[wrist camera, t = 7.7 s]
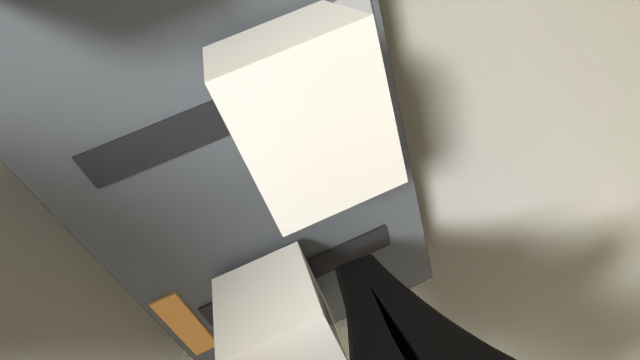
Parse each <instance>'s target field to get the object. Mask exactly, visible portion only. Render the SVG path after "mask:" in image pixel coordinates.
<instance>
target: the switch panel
mask: <svg viewBox="0 0 640 360" xmlns="http://www.w3.org/2000/svg"><path fill="white" fill-rule="evenodd" d="M318 1H321V0H0V161H1V162H2V163H3V164H4V165H5V166H6V167H7V168H8V169H9V170H10V171H11V172H12V173H13V174H14V175H15V176H16V177H17V178H18V179H19V180H20V181H21V182H22V183H23V184H24V185H25V186H26V187H27V188H28V189H29V191H30V192H31V193H32V194H33V195H34V196H35V197H36V198H37V199H38V200H39V201H40V202H41V203H42V204H43V205H44V206H45V207H46V208H47V209H48V210H49V211H50V212H51V213H52V214H53V215H54V216H55V217H56V218H57V219H58V220H59V221H60V222H61V223H62V224H63V226H64V227H65V228H66V229H67V230H68V231H69V232H70V233H71V234H72V235H73V236H74V237H75V238H76V239H77V240H78V241H79V242H80V243H81V244H82V245H83V246H84V247H85V248H86V249H87V250H88V251H89V252H90V253H91V254H92V255H93V256H94V257H95V258H96V259H97V261H98V262H99V263H100V264H101V265H102V266H103V267H104V268H105V269H106V270H107V271H108V272H109V273H110V274H111V275H112V276H113V277H114V278H115V279H116V280H117V281H118V282H119V283H120V284H121V285H122V286H123V287H124V288H125V289H126V290H127V291H128V292H129V293H130V295H131V296H132V297H133V298H134V299H135V300H136V301H137V302H138V303H139V304H140V305H141V306H142V307H143V308H144V309H145V310H146V311H147V312H148V313H149V314H150V315H151V316H152V317H153V318H154V319H155V320H156V321H157V322H158V323H159V324H160V325H161V326H162V327H163V328H164V330H165V331H166V332H167V333H168V334H169V335H170V336H171V337H172V338H173V339H174V340H175V341H176V342H177V343H178V344H179V345H180V346H181V347H182V348H183V349H184V350H185V351H186V352H187V353H188V354H189V355H190V356H191V357H192V358H193V359H194V360H215V348H214V324H213V301H212V279H214V278H216V277H218V276H221V275H223V274H225V273H227V272H230V271H232V270H234V269H236V268H238V267H241V266H243V265H245V264H247V263H250V262H252V261H254V260H256V259H259V258H261V257H263V256H265V255H268V254H270V253H272V252H274V251H277V250H279V249H281V248H283V247H286V246H288V245H290V244H292V243H295V242H298V244H299V246H300V248H301V250H302V252H303V254H304V256H305V258H306V261H307V263H308V265H309V267H310V269H311V271H312V273H313V275H314V277H315V279H316V281H317V283H318V285H319V287H320V290H321V292H322V294H323V296H324V298H325V300H326V302H327V304H328V306H329V309H330V312H331V314H332V317H333V319H334V322H335V323H336V322H338V321H340V320H342V319H344V318H346V310H345V305H344V302H343V298H342V294H341V291H340V287H339V283H338V279H337V276H336V272H335V269H336V267H337V266H338V265H341V264H344V263H346V262H349V261H352V260H354V259H357V258H360V257H362V256H365V255H368V254H371V255H373V256H374V257H375V258H376V259H377V260H378V261H379V262H380V263H381V264H382V265H383V266H384V267H385V268H386V269H387V270H388V271H389V272H390V273H391V274H392V275H393V276H395V277H396V278H397V279H398V280H399V281H400V282H401V283H402V284H404V285H405V286H406V287H407V288H411V287H413V286H415V285H417V284H419V283H421V282H423V281H426V280H428V279H430V278H432V272H431V267H430V262H429V257H428V252H427V246H426V241H425V236H424V231H423V226H422V221H421V216H420V211H419V206H418V201H417V195H416V190H415V185H414V180H413V175H412V170H411V165H410V160H409V155H408V149H407V144H406V139H405V134H404V129H403V124H402V119H401V114H400V109H399V104H398V98H397V93H396V88H395V83H394V78H393V73H392V68H391V63H390V58H389V53H388V47H387V42H386V37H385V32H384V27H383V22H382V17H381V12H380V7H379V1H378V0H325V1H328V2H332V3H335V4H339V5H342V6H346V7H349V8H353V9H356V10H360V11H363V12H367V13H370V14H373V15H374V20H375V24H376V29H377V34H378V39H379V44H380V49H381V53H382V58H383V63H384V68H385V73H386V78H387V82H388V87H389V92H390V97H391V102H392V107H393V111H394V116H395V121H396V126H397V131H398V135H399V140H400V145H401V150H402V155H403V160H404V164H405V169H406V174H407V179H408V182H407V183H404V184H402V185H400V186H398V187H395V188H393V189H391V190H389V191H386V192H384V193H382V194H380V195H377V196H375V197H373V198H371V199H368V200H366V201H364V202H362V203H359V204H357V205H355V206H353V207H350V208H348V209H346V210H344V211H341V212H339V213H337V214H335V215H332V216H330V217H328V218H325V219H323V220H321V221H319V222H316V223H314V224H312V225H310V226H307V227H305V228H303V229H301V230H298V231H296V232H294V233H292V234H289V235H287V236H285V237H283V236H282V234H281V232H280V230H279V228H278V226H277V224H276V222H275V220H274V218H273V216H272V215H271V213H270V211H269V209H268V207H267V205H266V203H265V201H264V199H263V197H262V195H261V193H260V191H259V189H258V187H257V185H256V183H255V181H254V179H253V177H252V175H251V173H250V171H249V169H248V167H247V165H246V164H245V162H244V160H243V158H242V156H241V154H240V152H239V150H238V148H237V146H236V144H235V142H234V140H233V138H232V136H231V134H230V132H229V130H228V128H227V126H226V124H225V122H224V120H223V118H222V116H221V114H220V113H219V111H218V109H217V107H216V105H215V103H214V101H213V99H212V97H211V95H210V93H209V91H208V89H207V87H206V85H205V83H204V67H203V47H205V46H208V45H210V44H213V43H215V42H218V41H220V40H223V39H225V38H228V37H230V36H233V35H235V34H238V33H240V32H243V31H245V30H248V29H250V28H253V27H255V26H258V25H260V24H263V23H266V22H268V21H271V20H273V19H276V18H278V17H281V16H283V15H286V14H288V13H291V12H293V11H296V10H298V9H301V8H303V7H306V6H308V5H311V4H313V3H316V2H318Z"/></svg>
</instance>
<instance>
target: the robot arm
mask: <svg viewBox="0 0 640 360" xmlns="http://www.w3.org/2000/svg"><path fill="white" fill-rule="evenodd" d="M335 272H336V276H337V279H338V283H339V287H340V291H341V294H342V298H343V302H344V305H345V310H346V317H347V325H348V338H349V354H350V360H516V359H514V358H512V357H510V356H509V355H507V354H505V353H503V352H501V351H499V350H497V349H495V348H494V347H492V346H490V345H488V344H487V343H485V342H483V341H482V340H480V339H478V338H477V337H475V336H473V335H472V334H470V333H469V332H467V331H466V330H464V329H462V328H461V327H459V326H458V325H456V324H455V323H453V322H452V321H450V320H449V319H448V318H446V317H445V316H443V315H442V314H441V313H439V312H438V311H436V310H435V309H434V308H432V307H431V306H430V305H428V304H427V303H426V302H424V301H423V300H422V299H421V298H419V297H418V296H417V295H416V294H414V293H413V292H412V291H411V290H410V289H408V288H407V287H406V286H405V285H404V284H402V283H401V282H400V281H399V280H398V279H397V278H396V277H395V276H393V275H392V274H391V273H390V272H389V271H388V270H387V269H386V268H385V267H384V266H383V265H382V264H381V263H380V262H379V261H378V260H377V259H376V258H375V257H374V256H373V255H371V254H368V255H365V256H362V257H360V258H357V259H354V260H352V261H349V262H346V263H344V264H341V265H338V266H337V267H336V269H335Z"/></svg>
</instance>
